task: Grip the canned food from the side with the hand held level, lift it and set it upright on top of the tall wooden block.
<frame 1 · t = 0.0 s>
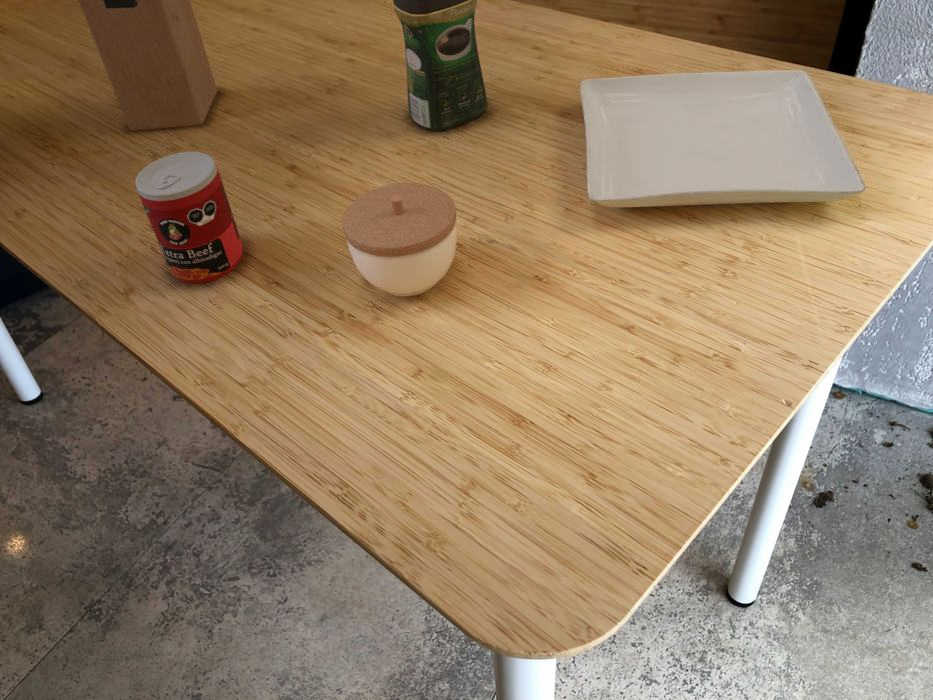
canned food: (209, 264, 89), on the table
coffee jar: (448, 117, 108), on the table
wooden block: (175, 113, 116), on the table
square plate: (703, 156, 96), on the table
trinket box: (409, 279, 85), on the table
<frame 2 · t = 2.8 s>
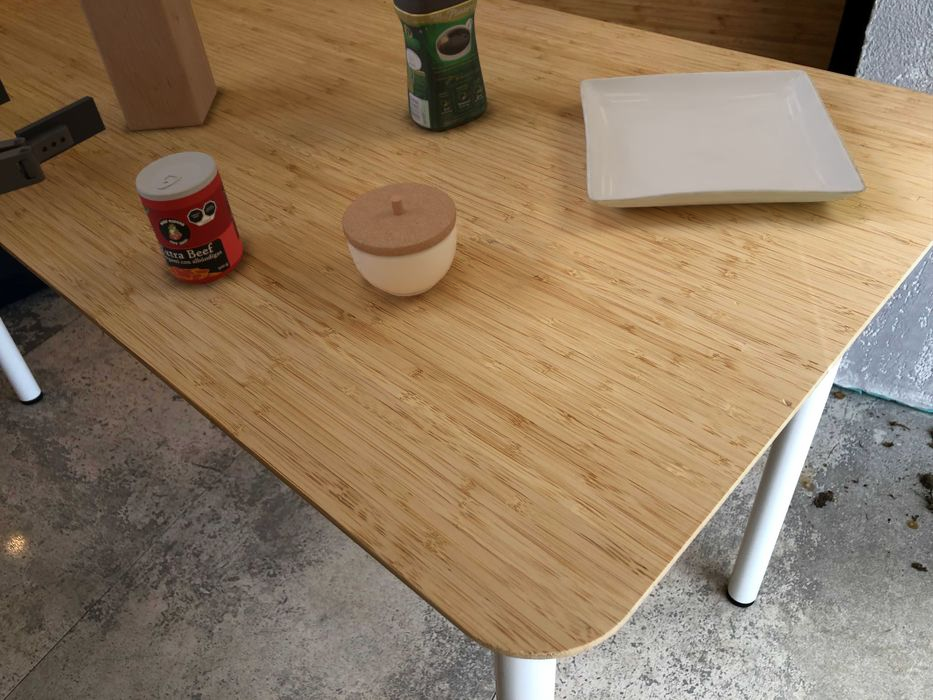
hand: (47, 98, 70), 22 cm above the table, tool horizontal, fingers open, 13 cm apart
nothing on the table moved.
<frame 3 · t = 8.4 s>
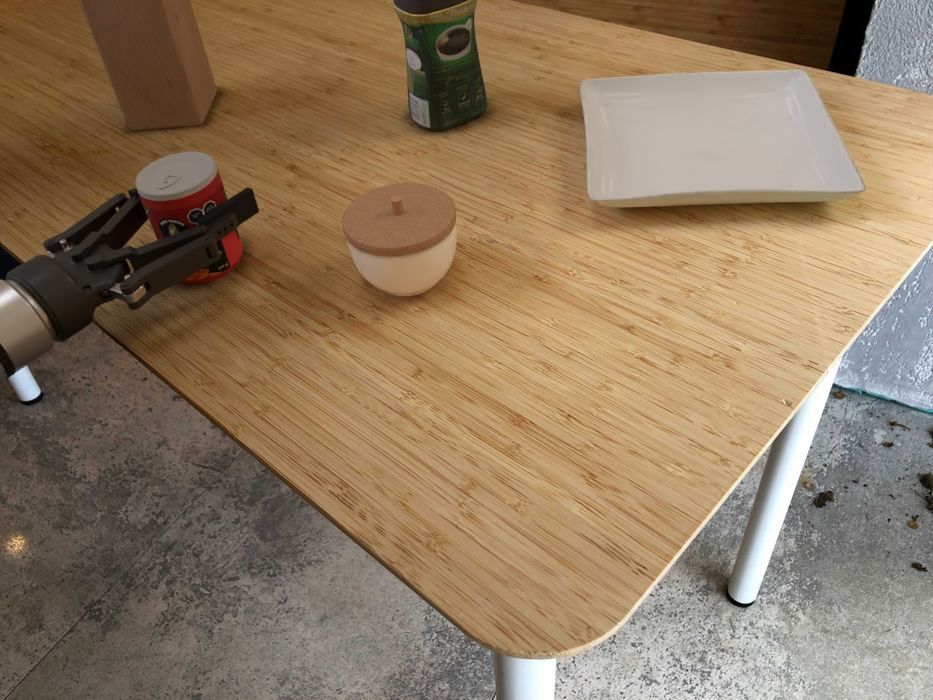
hand: (226, 188, 87), 7 cm above the table, tool horizontal, fingers closed on canned food, 8 cm apart
canned food: (209, 264, 89), on the table, touching gripper
everything else where it was.
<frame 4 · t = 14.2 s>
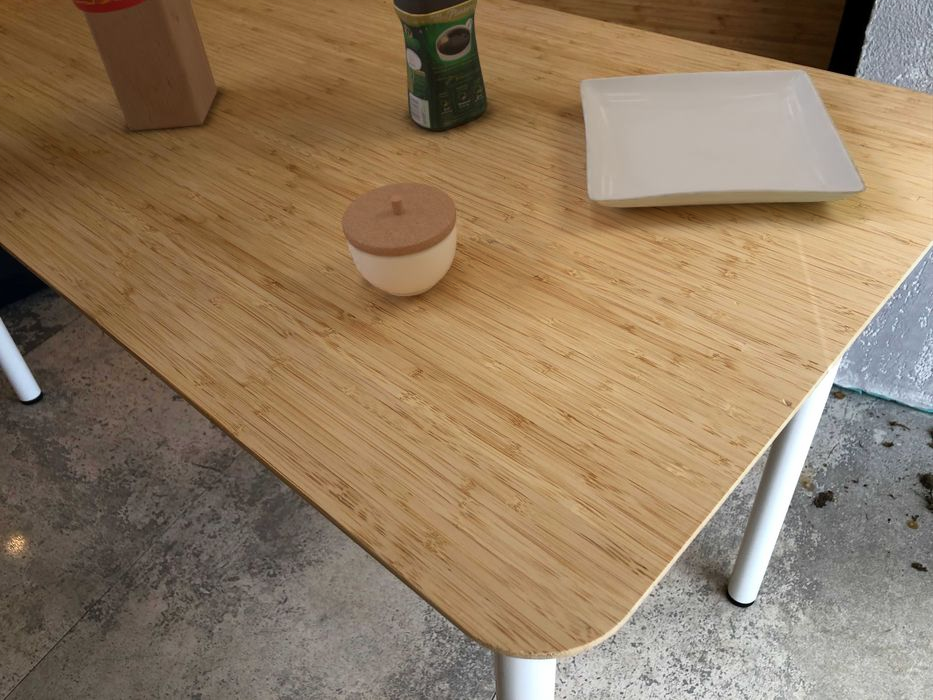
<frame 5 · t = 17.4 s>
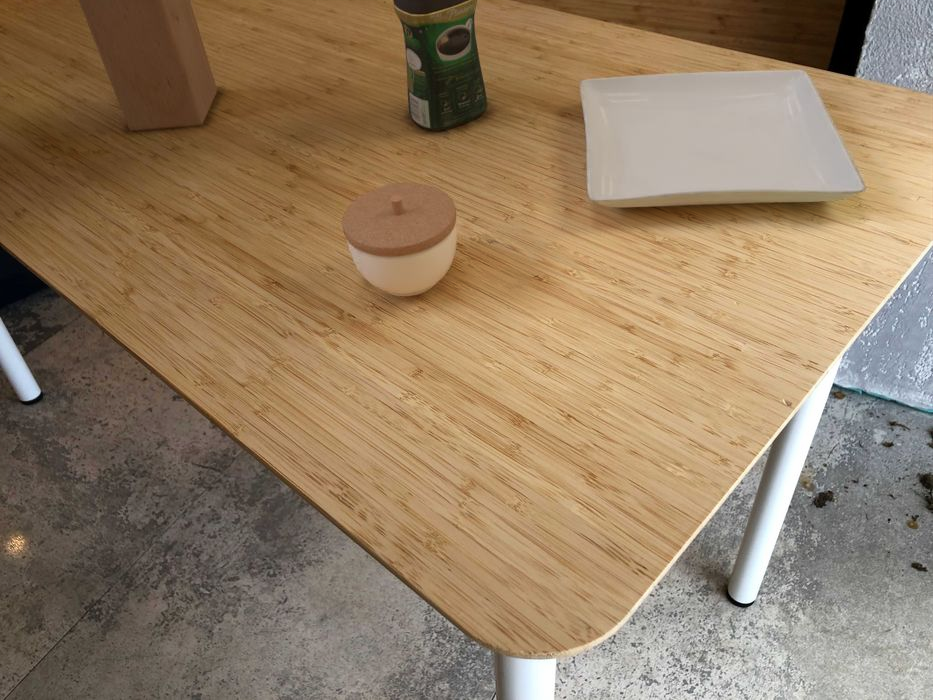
when the fingers open (26 cm above the table, at t = 19.9 s): canned food stays where it is, resting on wooden block.
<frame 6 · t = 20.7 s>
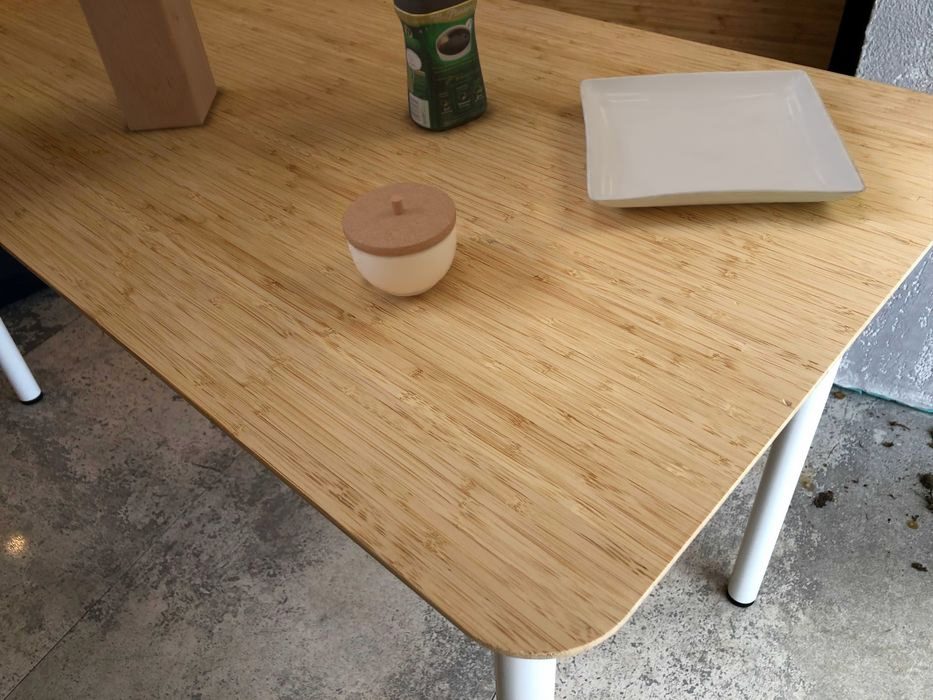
wooden block: (175, 113, 116), on the table, touching canned food
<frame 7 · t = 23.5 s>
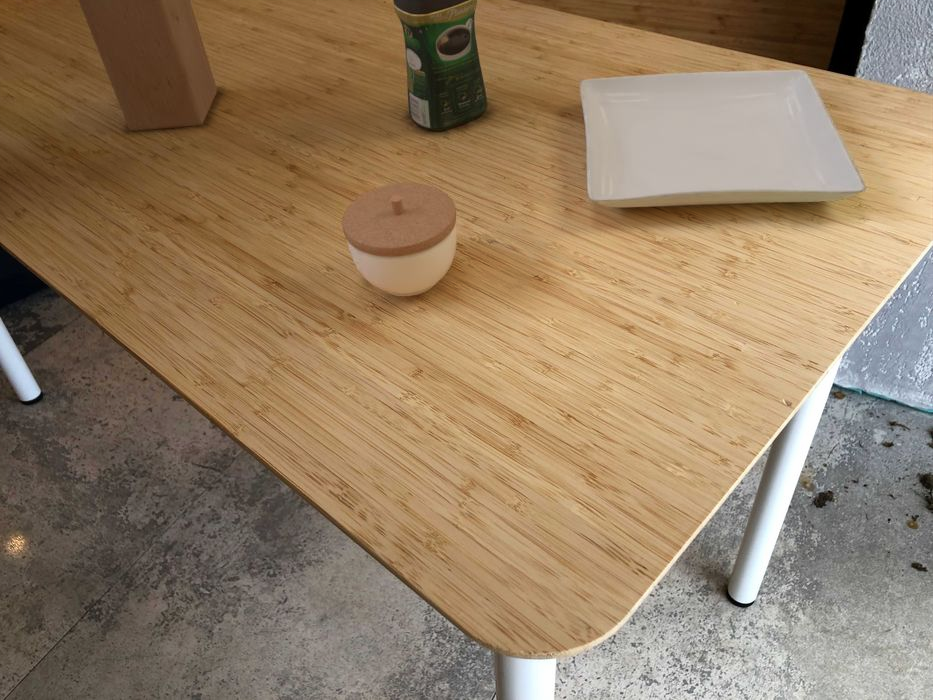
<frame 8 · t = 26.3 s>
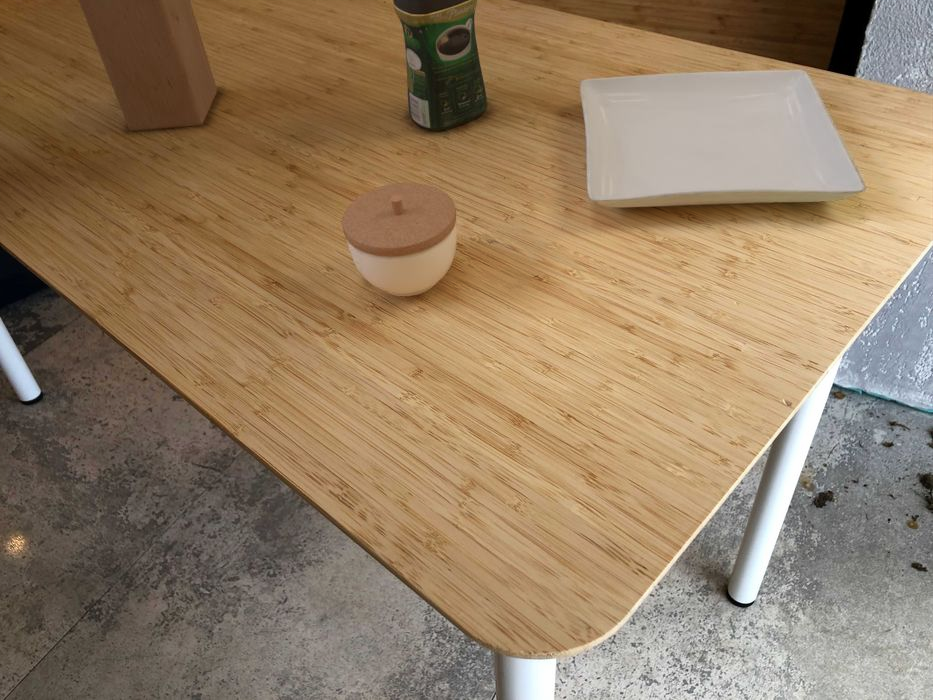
at the end: canned food 0.0 cm off-centre on the wooden block, point 20.0 cm above the wooden block's base; canned food tilted 0°; the gripper is holding nothing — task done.
